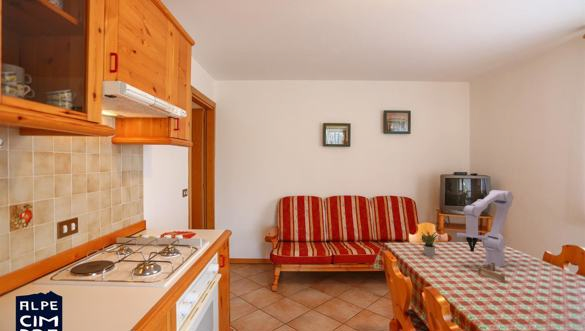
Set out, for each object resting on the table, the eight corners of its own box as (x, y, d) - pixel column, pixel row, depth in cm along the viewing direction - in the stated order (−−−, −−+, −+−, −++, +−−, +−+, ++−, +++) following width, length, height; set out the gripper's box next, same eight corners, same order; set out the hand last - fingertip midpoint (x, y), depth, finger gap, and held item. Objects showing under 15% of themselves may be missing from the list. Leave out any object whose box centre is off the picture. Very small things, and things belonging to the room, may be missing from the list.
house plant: (444, 254, 179) (444, 229, 179) (443, 260, 168) (443, 233, 168) (420, 250, 187) (420, 226, 187) (418, 256, 175) (417, 231, 175)
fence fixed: (479, 273, 146) (478, 265, 146) (505, 282, 134) (505, 274, 134) (477, 273, 146) (476, 266, 146) (503, 283, 134) (503, 274, 134)
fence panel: (482, 274, 145) (482, 266, 145) (479, 272, 146) (478, 265, 147) (495, 270, 149) (495, 263, 149) (492, 269, 151) (492, 262, 151)
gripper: (456, 226, 155) (456, 250, 155) (487, 230, 146) (487, 255, 146) (457, 224, 161) (457, 247, 161) (488, 227, 152) (488, 252, 152)
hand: (472, 251), depth 154 cm, fingers closed
